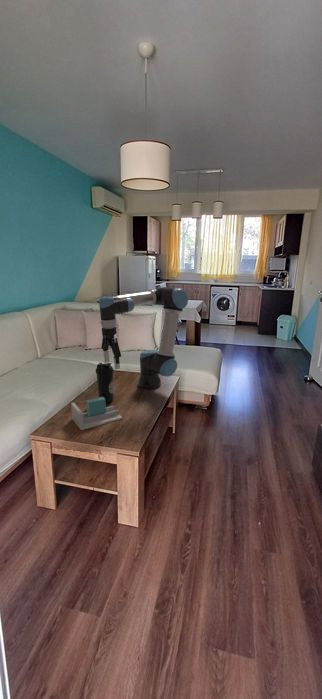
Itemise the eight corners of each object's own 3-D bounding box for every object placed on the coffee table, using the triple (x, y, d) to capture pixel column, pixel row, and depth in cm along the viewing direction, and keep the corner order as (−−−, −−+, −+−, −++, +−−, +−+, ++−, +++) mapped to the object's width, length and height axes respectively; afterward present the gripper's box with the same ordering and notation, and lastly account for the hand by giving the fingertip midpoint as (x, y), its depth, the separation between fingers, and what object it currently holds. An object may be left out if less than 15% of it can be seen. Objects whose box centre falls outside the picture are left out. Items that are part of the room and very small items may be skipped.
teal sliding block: (103, 413, 175) (102, 396, 173) (106, 416, 173) (105, 399, 170) (87, 418, 171) (86, 400, 168) (89, 420, 168) (88, 403, 165)
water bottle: (111, 404, 189) (109, 366, 182) (94, 403, 191) (92, 365, 184) (117, 397, 198) (115, 361, 192) (101, 396, 200) (99, 360, 194)
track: (111, 408, 183) (110, 394, 181) (121, 418, 172) (121, 403, 170) (72, 418, 172) (71, 403, 170) (81, 430, 161) (79, 413, 158)
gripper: (93, 324, 178) (96, 360, 185) (112, 332, 158) (115, 373, 164) (106, 322, 182) (109, 358, 188) (126, 330, 162) (128, 370, 168)
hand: (112, 365), depth 176 cm, fingers open, 13 cm apart
